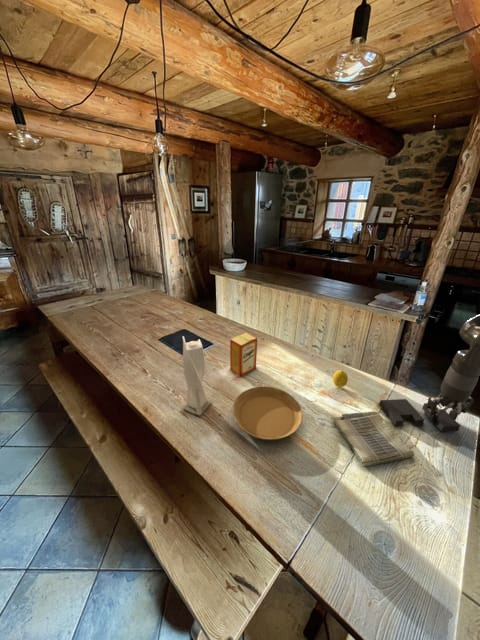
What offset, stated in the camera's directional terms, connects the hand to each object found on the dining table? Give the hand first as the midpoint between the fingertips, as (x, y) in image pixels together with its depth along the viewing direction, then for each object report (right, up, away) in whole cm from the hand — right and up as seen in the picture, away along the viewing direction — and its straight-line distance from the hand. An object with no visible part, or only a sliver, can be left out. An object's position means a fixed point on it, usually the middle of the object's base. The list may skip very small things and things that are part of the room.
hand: (441, 420), depth 91 cm
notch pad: (-12, +1, +4) cm, 12 cm away
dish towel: (-27, -4, -5) cm, 28 cm away
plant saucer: (-60, 0, +3) cm, 60 cm away
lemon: (-29, +7, +18) cm, 34 cm away
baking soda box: (-68, +12, +28) cm, 74 cm away
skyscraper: (-85, +3, +7) cm, 85 cm away
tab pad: (0, 0, +1) cm, 1 cm away
